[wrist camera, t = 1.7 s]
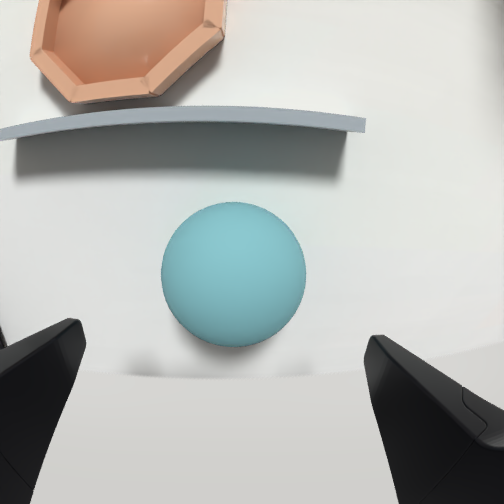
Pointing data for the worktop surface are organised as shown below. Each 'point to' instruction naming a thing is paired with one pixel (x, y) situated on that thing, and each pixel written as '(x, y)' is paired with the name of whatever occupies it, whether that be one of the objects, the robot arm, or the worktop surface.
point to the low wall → (188, 119)
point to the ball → (233, 274)
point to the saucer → (122, 44)
